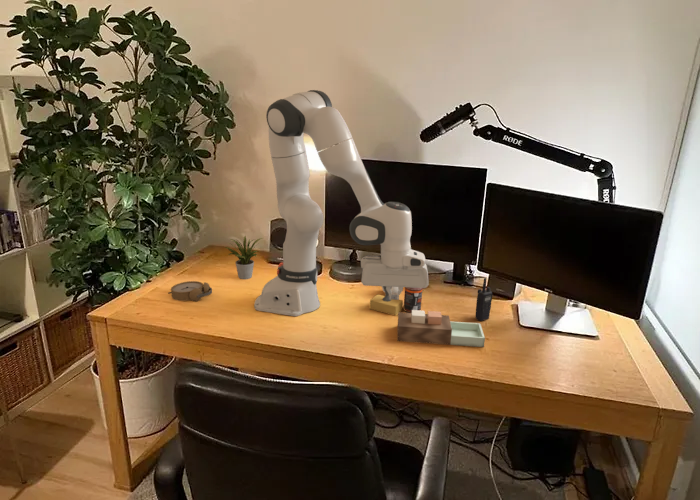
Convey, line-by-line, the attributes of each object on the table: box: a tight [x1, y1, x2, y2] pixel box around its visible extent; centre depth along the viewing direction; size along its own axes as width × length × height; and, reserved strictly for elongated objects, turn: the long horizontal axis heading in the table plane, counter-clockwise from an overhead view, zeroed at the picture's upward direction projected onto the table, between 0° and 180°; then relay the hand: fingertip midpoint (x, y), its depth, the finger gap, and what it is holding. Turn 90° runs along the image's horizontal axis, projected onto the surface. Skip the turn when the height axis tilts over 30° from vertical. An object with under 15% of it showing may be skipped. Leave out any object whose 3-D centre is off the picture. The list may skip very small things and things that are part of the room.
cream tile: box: [411, 310, 426, 324], centre depth 166 cm, size 4×4×2 cm
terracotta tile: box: [427, 310, 442, 325], centre depth 166 cm, size 4×4×2 cm
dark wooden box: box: [396, 311, 452, 346], centre depth 167 cm, size 16×10×5 cm, turn 85°
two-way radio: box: [474, 277, 493, 322], centre depth 179 cm, size 6×4×15 cm
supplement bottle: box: [403, 287, 424, 313], centre depth 184 cm, size 6×6×11 cm
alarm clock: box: [167, 280, 213, 303], centre depth 191 cm, size 11×5×15 cm
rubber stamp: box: [369, 286, 404, 316], centre depth 184 cm, size 10×6×12 cm, turn 62°
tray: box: [450, 320, 486, 348], centre depth 167 cm, size 10×10×3 cm
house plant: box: [224, 235, 263, 280], centre depth 209 cm, size 14×14×16 cm
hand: (394, 298), depth 165 cm, fingers closed
